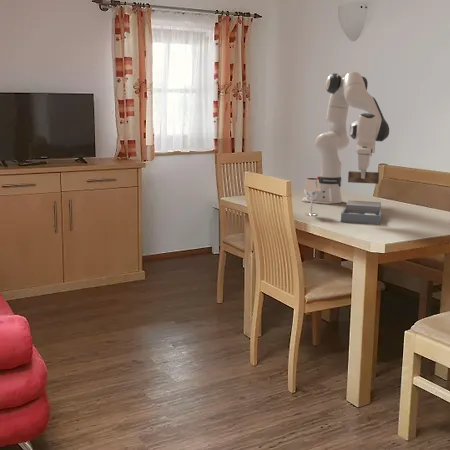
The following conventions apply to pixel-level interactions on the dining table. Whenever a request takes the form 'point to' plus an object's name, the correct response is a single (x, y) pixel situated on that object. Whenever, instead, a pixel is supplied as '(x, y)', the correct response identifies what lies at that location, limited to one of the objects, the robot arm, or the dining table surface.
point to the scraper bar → (369, 178)
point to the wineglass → (312, 191)
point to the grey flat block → (363, 205)
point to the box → (361, 216)
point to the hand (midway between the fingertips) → (363, 177)
